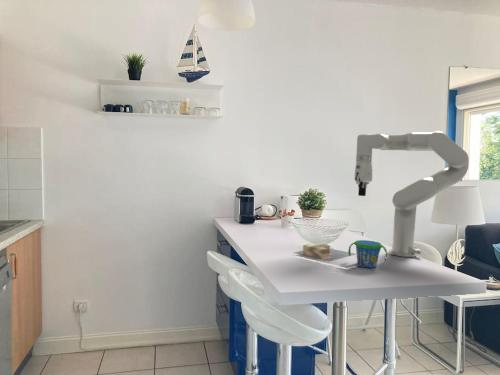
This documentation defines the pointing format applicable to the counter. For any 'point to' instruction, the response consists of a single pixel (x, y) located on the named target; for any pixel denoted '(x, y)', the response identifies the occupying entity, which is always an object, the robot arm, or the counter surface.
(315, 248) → the t block
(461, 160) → the robot arm
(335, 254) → the board
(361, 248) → the snack cup
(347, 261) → the counter surface
